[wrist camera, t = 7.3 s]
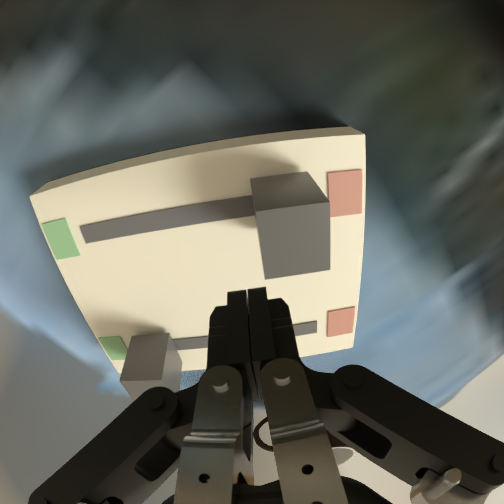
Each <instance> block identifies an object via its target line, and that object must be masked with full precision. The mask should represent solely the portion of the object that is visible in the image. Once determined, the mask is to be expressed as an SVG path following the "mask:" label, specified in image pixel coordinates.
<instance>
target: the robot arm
mask: <svg viewBox="0 0 504 504" xmlns="http://www.w3.org/2000/svg"><path fill="white" fill-rule="evenodd" d="M247 292H248V296H247ZM208 335H209V337H208V350H207V367H206V372H204V373H203V375H202V376H201V378H200V380H199V382H198V383H197V384H195V385H194V386H192V387H189V388H187V389H184V390H181V391H178V392H175V393H174V392H173V391H172V390H170V389H169V388H166V387H162V386H158V387H153V388H150V389H148V390H146V391H145V392H143V393H142V394H141V395H140V396H139V397H138V398H137V399H136V400H135V401H134V402H133V403H132V404H131V405H129V406H128V407H127V408H126V409H125V410H124V411H123V412H122V413H121V414H120V415H119V416H118V417H117V418H115V419H114V420H113V421H112V422H111V423H110V424H109V425H108V426H107V427H106V428H104V429H103V430H102V431H101V432H100V433H99V434H98V435H97V436H96V437H95V438H93V439H92V440H91V441H90V442H89V443H88V444H87V445H86V446H85V447H83V448H82V449H81V450H80V451H79V452H78V453H77V454H76V455H75V456H73V457H72V458H71V459H70V460H69V461H68V462H67V463H66V464H64V465H63V466H62V467H61V468H60V469H59V470H58V471H56V472H55V473H54V474H53V475H52V476H51V477H50V478H48V479H47V480H46V481H45V482H44V483H43V484H42V485H40V487H38V488H37V489H36V490H35V491H34V492H33V493H32V494H31V496H30V498H29V503H28V504H142V503H143V502H144V501H145V500H146V499H147V498H148V497H149V496H150V495H151V494H152V493H153V492H154V491H155V490H157V489H158V487H160V486H161V484H163V483H164V481H166V480H167V478H168V477H169V476H170V475H171V474H172V473H173V472H174V471H175V470H176V469H177V468H178V474H177V481H176V488H175V494H174V495H172V496H171V497H169V498H168V499H167V500H165V501H164V502H163V503H162V504H392V503H391V502H389V501H387V500H386V499H385V498H383V497H382V496H380V495H379V494H378V493H376V492H375V491H373V490H372V489H370V488H369V487H368V486H366V485H365V484H363V483H361V482H359V481H357V480H354V479H351V478H348V477H344V476H340V474H339V470H338V467H337V464H336V460H335V457H334V454H333V451H332V447H331V444H330V441H329V438H328V434H327V431H326V430H328V431H329V432H330V433H331V434H332V435H333V436H335V437H336V438H338V439H339V440H340V441H342V442H343V443H345V444H346V445H348V446H349V447H351V448H352V449H354V450H355V451H357V452H358V453H360V454H361V455H363V456H364V457H366V458H367V459H369V460H370V461H372V462H373V463H375V464H377V465H378V466H380V467H381V468H383V469H385V470H386V471H388V472H390V473H391V474H393V475H394V476H396V477H398V478H399V479H401V480H403V481H404V482H406V483H408V484H409V485H411V486H413V487H412V489H411V492H410V500H411V503H412V504H484V502H485V500H486V498H487V496H488V495H489V493H490V492H491V491H492V490H494V489H496V488H497V487H499V486H500V485H502V484H503V483H504V443H503V442H501V441H499V440H496V439H495V438H493V437H491V436H489V435H487V434H485V433H483V432H481V431H479V430H477V429H475V428H473V427H471V426H470V425H467V424H466V423H464V422H462V421H460V420H458V419H456V418H454V417H453V416H451V415H449V414H447V413H445V412H443V411H441V410H440V409H438V408H436V407H434V406H432V405H430V404H429V403H427V402H425V401H423V400H421V399H420V398H418V397H416V396H414V395H412V394H411V393H409V392H407V391H405V390H404V389H402V388H400V387H398V386H396V385H395V384H393V383H391V382H389V381H388V380H386V379H384V378H383V377H381V376H379V375H377V374H376V373H374V372H372V371H370V370H369V369H367V368H365V367H363V366H360V365H346V366H343V367H341V368H339V369H338V370H337V371H335V373H324V372H317V371H314V370H311V369H309V368H308V367H306V366H305V365H304V364H303V363H302V361H301V359H300V357H299V352H298V347H297V343H296V338H295V333H294V329H293V324H292V319H291V315H290V310H289V306H288V305H287V303H286V302H285V301H284V300H283V299H282V298H275V299H268V298H267V291H266V287H259V288H252V289H247V291H246V289H245V290H237V291H230V292H227V305H224V306H216V307H215V308H214V310H213V312H212V313H211V315H210V320H209V334H208ZM258 389H259V394H260V398H261V400H264V403H265V408H266V413H267V418H268V423H269V429H270V434H271V440H272V445H273V451H274V456H275V461H276V466H277V471H278V476H279V480H277V481H274V482H271V483H268V484H265V485H262V486H254V472H253V401H256V400H259V394H258Z"/></svg>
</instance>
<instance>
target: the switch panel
mask: <svg viewBox="0 0 504 504" xmlns="http://www.w3.org/2000/svg"><path fill="white" fill-rule="evenodd" d="M305 171H308V173H309V174H310V175H311V177H312V178H313V179H314V181H315V182H316V184H317V185H318V186H319V188H320V189H321V190H322V192H323V193H324V194H325V196H326V197H327V199H328V200H329V201H330V243H331V250H330V270H326V271H320V272H314V273H307V274H301V275H294V276H287V277H281V278H274V279H267V280H265V277H264V271H263V265H262V259H261V252H260V246H259V240H258V233H257V226H256V219H255V212H254V205H253V198H252V191H251V183H250V178H257V177H265V176H272V175H280V174H288V173H297V172H305ZM365 182H366V158H365V134H363V133H361V132H359V131H357V130H355V129H353V128H351V127H334V128H320V129H308V130H297V131H287V132H278V133H269V134H261V135H253V136H246V137H239V138H232V139H226V140H220V141H214V142H208V143H202V144H197V145H191V146H186V147H181V148H176V149H171V150H166V151H161V152H157V153H152V154H148V155H144V156H139V157H135V158H131V159H127V160H123V161H119V162H115V163H111V164H107V165H104V166H100V167H96V168H93V169H89V170H86V171H82V172H79V173H76V174H72V175H69V176H66V177H63V178H59V179H56V180H53V181H50V182H47V183H46V184H45V185H43V186H42V187H41V188H39V189H38V190H37V191H35V192H34V193H33V194H32V195H30V196H29V197H30V200H31V203H32V205H33V208H34V211H35V213H36V216H37V219H38V221H39V224H40V226H41V229H42V231H43V234H44V236H45V238H46V241H47V243H48V245H49V248H50V250H51V252H52V254H53V257H54V259H55V261H56V263H57V265H58V267H59V269H60V272H61V274H62V276H63V278H64V280H65V282H66V284H67V286H68V288H69V290H70V292H71V294H72V295H73V297H74V299H75V301H76V303H77V305H78V307H79V309H80V310H81V312H82V314H83V316H84V318H85V319H86V321H87V323H88V325H89V326H90V328H91V330H92V331H93V333H94V335H95V336H96V338H97V340H98V341H99V343H100V345H101V346H102V348H103V350H104V351H105V353H106V354H107V356H108V357H109V359H110V361H111V362H112V364H113V365H114V367H115V368H116V370H117V371H118V373H122V369H123V365H124V362H125V358H126V354H127V351H128V347H129V343H130V340H131V337H132V336H136V335H150V334H162V333H170V335H171V337H172V340H173V342H174V344H175V346H176V349H177V351H178V353H179V355H180V358H181V360H182V371H188V370H201V369H206V367H207V350H208V337H209V335H208V334H209V320H210V315H211V313H212V312H213V310H214V308H215V307H216V306H224V305H227V292H230V291H237V290H245V289H246V291H247V289H252V288H259V287H266V291H267V298H268V299H275V298H282V299H283V300H284V301H285V302H286V303H287V305H288V306H289V310H290V315H291V319H292V324H293V329H294V333H295V338H296V343H297V347H298V352H299V357H305V356H310V355H316V354H322V353H327V352H332V351H337V350H342V349H347V348H352V347H353V342H354V335H355V327H356V319H357V311H358V302H359V292H360V281H361V270H362V257H363V241H364V221H365ZM247 296H248V292H247Z"/></svg>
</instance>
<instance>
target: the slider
mask: <svg viewBox="0 0 504 504" xmlns="http://www.w3.org/2000/svg"><path fill="white" fill-rule="evenodd" d="M181 371H182V360H181V358H180V355H179V353H178V351H177V349H176V346H175V344H174V342H173V340H172V337H171V335H170V333H162V334H150V335H136V336H132V337H131V340H130V343H129V347H128V351H127V354H126V358H125V362H124V365H123V369H122V373H121V377H120V382H121V384H122V385H123V387H124V388H125V389H126V391H127V392H128V394H129V395H130V396H131V398H132V399H133V400H134V401H135V400H136V399H137V398H138V397H139V396H140V395H141V394H142V393H143V392H145V391H146V390H148V389H150V388H153V387H158V386H162V387H166V388H169V389H170V390H172V391H173V392H174V393H175V392H178V391H179V389H180V380H181Z"/></svg>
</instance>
